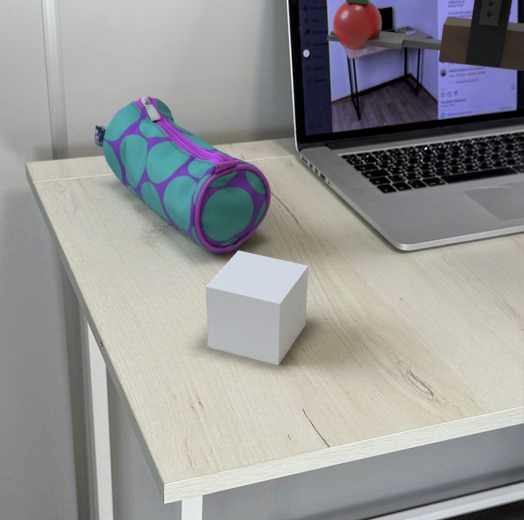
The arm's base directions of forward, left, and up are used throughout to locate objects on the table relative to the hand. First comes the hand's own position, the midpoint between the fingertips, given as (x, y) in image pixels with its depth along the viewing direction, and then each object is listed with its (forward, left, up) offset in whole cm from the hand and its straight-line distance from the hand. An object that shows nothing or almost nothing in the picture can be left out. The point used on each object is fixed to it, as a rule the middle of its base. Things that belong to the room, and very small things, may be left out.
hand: (484, 57), depth 71 cm
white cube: (+13, +18, -19) cm, 29 cm away
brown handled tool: (+3, 0, 0) cm, 3 cm away
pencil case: (+27, 0, -19) cm, 33 cm away
